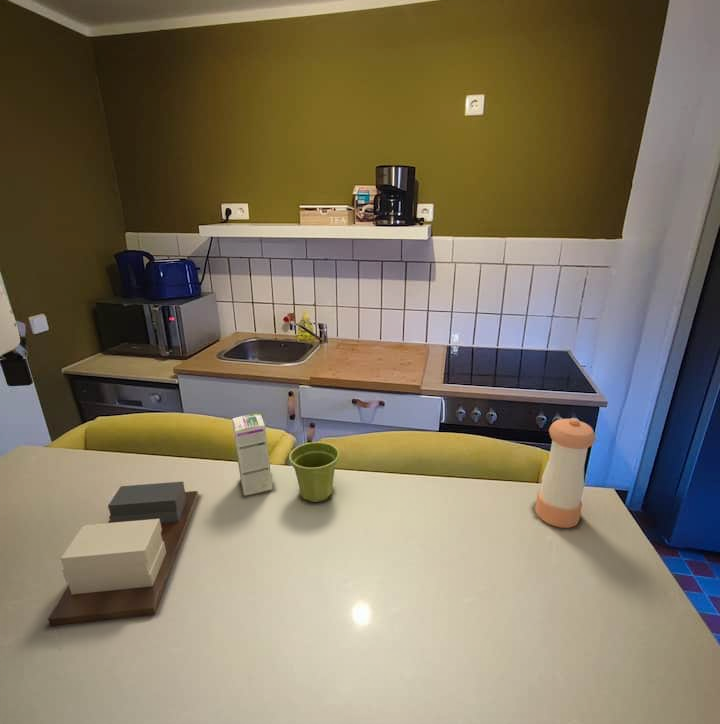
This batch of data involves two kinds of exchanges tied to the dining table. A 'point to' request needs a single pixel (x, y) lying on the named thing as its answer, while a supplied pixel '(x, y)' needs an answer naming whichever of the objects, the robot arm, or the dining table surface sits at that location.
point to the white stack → (117, 574)
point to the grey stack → (148, 502)
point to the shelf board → (126, 600)
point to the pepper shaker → (564, 473)
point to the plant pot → (314, 469)
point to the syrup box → (252, 453)
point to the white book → (112, 544)
